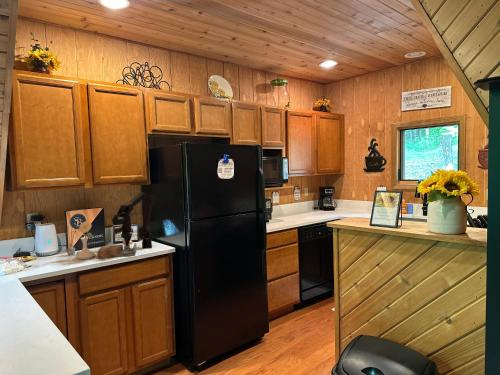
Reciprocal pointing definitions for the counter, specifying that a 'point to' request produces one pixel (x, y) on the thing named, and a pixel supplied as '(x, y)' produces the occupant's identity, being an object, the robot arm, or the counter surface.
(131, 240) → the coaster
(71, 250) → the reed diffuser
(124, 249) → the riser
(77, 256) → the flower in vase
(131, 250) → the grey jagged bowl
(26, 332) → the counter surface
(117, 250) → the housing
